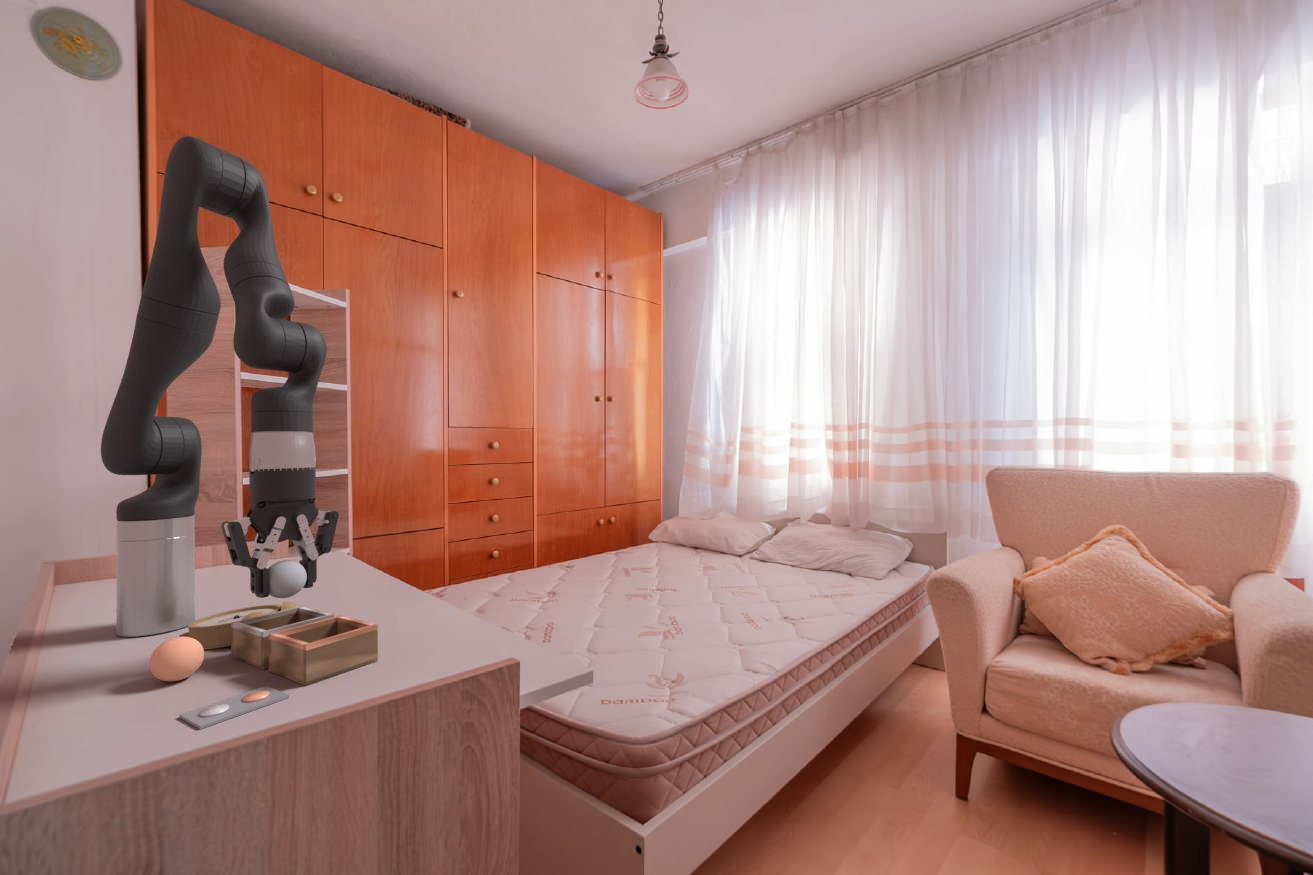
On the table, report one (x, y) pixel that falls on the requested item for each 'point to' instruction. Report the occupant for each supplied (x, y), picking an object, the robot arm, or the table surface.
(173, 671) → the terracotta ball
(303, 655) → the terracotta-rimmed square box
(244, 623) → the grey-band box
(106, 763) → the table surface
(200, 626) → the alarm clock
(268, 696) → the card
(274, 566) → the grey ball
